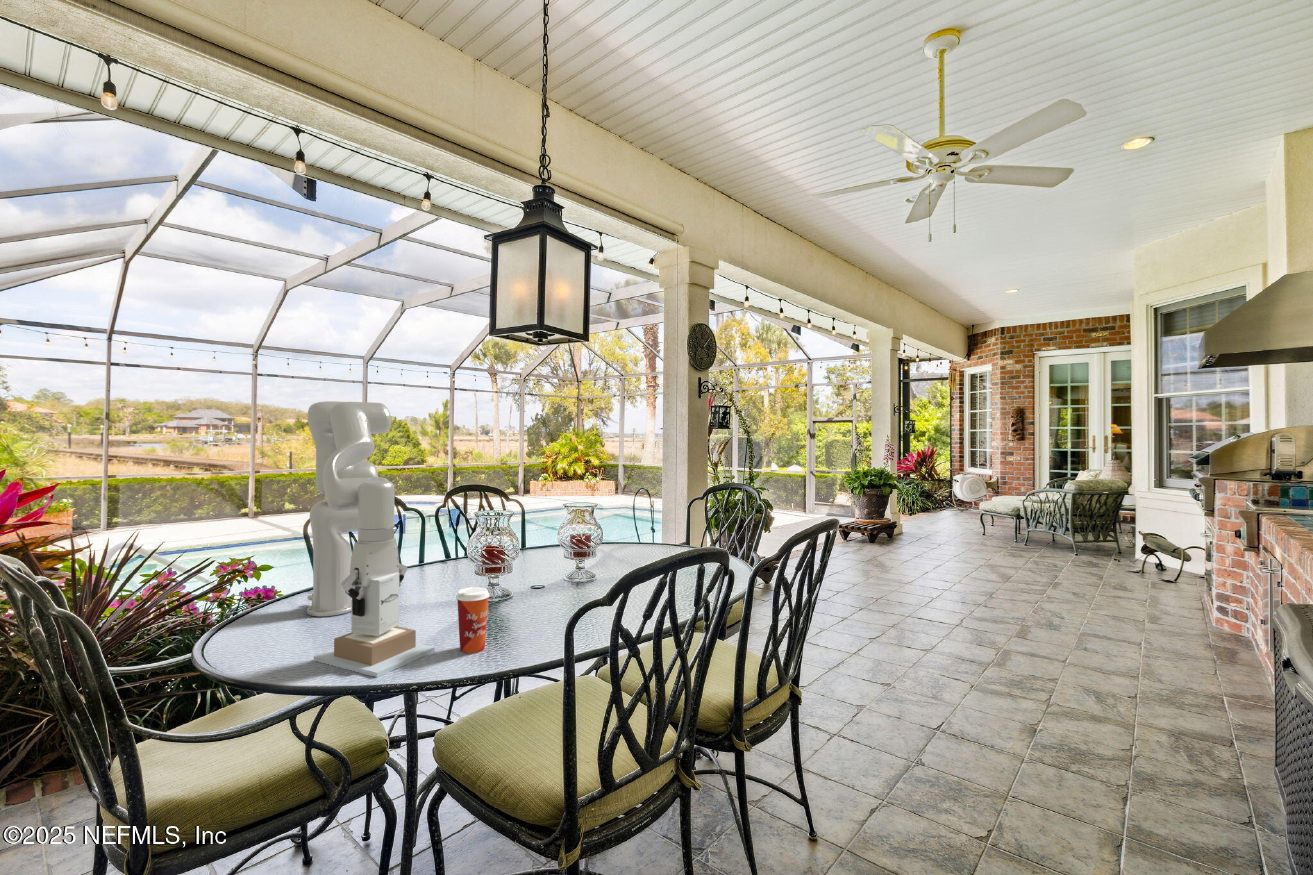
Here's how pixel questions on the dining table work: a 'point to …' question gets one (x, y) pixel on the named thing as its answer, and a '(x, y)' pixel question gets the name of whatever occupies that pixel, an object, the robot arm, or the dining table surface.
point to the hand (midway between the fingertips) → (375, 609)
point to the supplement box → (378, 606)
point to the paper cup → (472, 618)
